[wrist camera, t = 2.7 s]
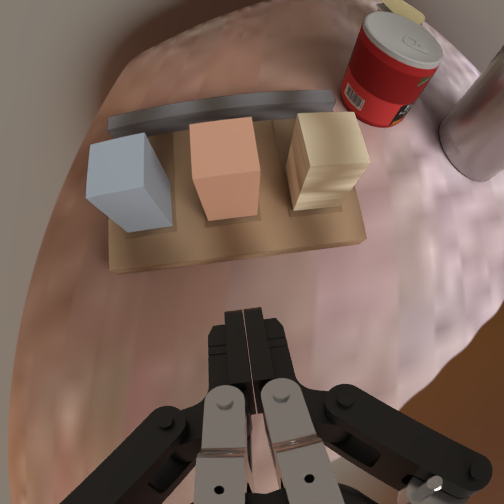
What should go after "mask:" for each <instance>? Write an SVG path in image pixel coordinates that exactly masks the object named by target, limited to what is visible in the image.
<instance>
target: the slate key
mask: <svg viewBox="0 0 504 504" xmlns="http://www.w3.org/2000/svg"><path fill="white" fill-rule="evenodd" d="M86 199H87V200H89V201H90V202H91V203H92V204H93V205H95V206H96V207H97V208H98V209H99V210H101V211H102V212H103V213H104V214H105V215H107V216H108V217H109V218H110V219H111V220H113V221H114V222H115V223H116V224H118V225H119V226H120V227H121V228H123V229H124V230H125V231H126V232H128V233H129V232H135V231H142V230H149V229H156V228H163V227H170V226H173V224H172V206H171V184H170V181H169V179H168V177H167V175H166V173H165V171H164V169H163V167H162V165H161V164H160V162H159V160H158V158H157V156H156V154H155V152H154V150H153V148H152V146H151V144H150V142H149V140H148V138H147V136H146V134H145V133H140V134H135V135H130V136H125V137H121V138H116V139H112V140H108V141H104V142H100V143H96V144H92V145H90V152H89V162H88V173H87V185H86Z"/></svg>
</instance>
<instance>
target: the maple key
mask: <svg viewBox="0 0 504 504" xmlns="http://www.w3.org/2000/svg"><path fill="white" fill-rule="evenodd" d="M370 163H371V162H370V159H369V155H368V152H367V149H366V146H365V143H364V139H363V136H362V133H361V130H360V127H359V124H358V122H357V119H356V116H355V113H354V112H317V113H297V118H296V122H295V127H294V132H293V136H292V141H291V145H290V150H289V154H288V159H287V163H286V168H285V169H286V174H287V179H288V184H289V190H290V195H291V201H292V206H293V211H297V210H307V209H316V208H326V207H336V206H340V204H341V203H342V202H343V200H344V199H345V197H346V196H347V195H348V193H349V192H350V191H351V189H352V188H353V186H354V185H355V184H356V182H357V181H358V179H359V178H360V177H361V175H362V174H363V172H364V171H365V170H366V168H367V167H368V165H369V164H370Z"/></svg>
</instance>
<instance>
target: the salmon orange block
mask: <svg viewBox="0 0 504 504" xmlns="http://www.w3.org/2000/svg"><path fill="white" fill-rule="evenodd" d="M189 128H190V148H191V165H192V179H193V182H194V185H195V187H196V190H197V193H198V195H199V198H200V201H201V203H202V206H203V208H204V211H205V214H206V216H207V219H208V221H214V220H221V219H229V218H237V217H245V216H254V215H257V211H258V198H259V184H260V165H259V159H258V152H257V146H256V140H255V134H254V128H253V122H252V117H244V118H235V119H226V120H218V121H211V122H203V123H196V124H190V125H189Z"/></svg>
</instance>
